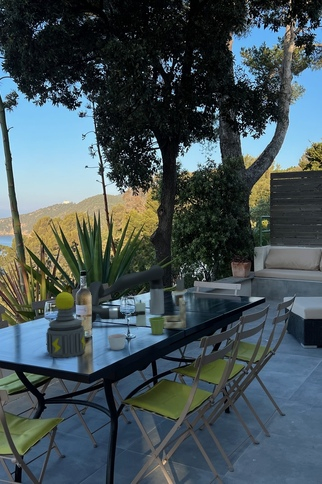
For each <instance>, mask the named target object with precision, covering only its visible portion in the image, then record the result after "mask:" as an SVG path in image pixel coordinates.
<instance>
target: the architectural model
mask: <svg viewBox="0 0 322 484" xmlns="http://www.w3.org/2000/svg"><path fill="white" fill-rule="evenodd" d="M175 282H176V283H175V284H176V290H174V291H173V292H171V296H174V298H175V299H174V301H175V302H174V305H175V307H177V306H179V298H183V299H184V295H185V294H186V293H187V292H188V289H186V288H185V278H184V277H183V278H180V277H178V278H177V279H176V280H175Z"/></svg>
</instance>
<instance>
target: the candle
mask: <svg viewBox="0 0 322 484" xmlns="http://www.w3.org/2000/svg"><path fill="white" fill-rule="evenodd" d="M126 336H127V335H126V334H124V333H114V334H109V335H107V339H108V344H109V348H110V350H113V351H119V350H123V349H125V343H126Z"/></svg>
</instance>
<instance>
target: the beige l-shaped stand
mask: <svg viewBox="0 0 322 484" xmlns="http://www.w3.org/2000/svg"><path fill="white" fill-rule="evenodd" d="M178 306H179V314H178V315H163V316H162V317H164V318H165V320H164V326H163V329H184V328H187V317H186V314H187V313H186V312H187V311H186V302H185V301H184V297H183V298H179V305H178Z"/></svg>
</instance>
